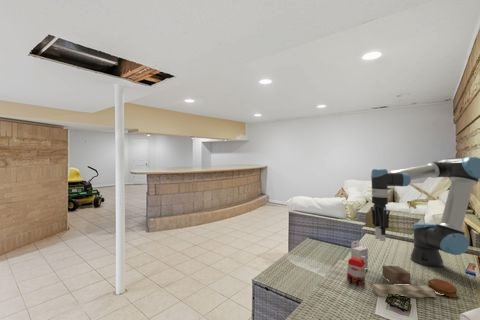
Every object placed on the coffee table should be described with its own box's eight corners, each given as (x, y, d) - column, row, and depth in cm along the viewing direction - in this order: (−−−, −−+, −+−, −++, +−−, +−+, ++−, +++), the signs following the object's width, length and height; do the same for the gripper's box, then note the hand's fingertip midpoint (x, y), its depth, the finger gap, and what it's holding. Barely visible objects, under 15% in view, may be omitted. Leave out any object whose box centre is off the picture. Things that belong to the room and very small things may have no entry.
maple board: (427, 292, 98) (427, 285, 99) (435, 297, 94) (435, 290, 95) (373, 291, 99) (373, 284, 99) (378, 296, 95) (378, 288, 95)
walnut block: (398, 278, 112) (398, 266, 113) (410, 286, 104) (410, 273, 105) (382, 277, 113) (382, 265, 113) (393, 285, 105) (392, 272, 105)
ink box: (360, 272, 117) (359, 244, 118) (350, 269, 121) (350, 241, 122) (368, 269, 122) (367, 242, 123) (359, 266, 126) (358, 239, 127)
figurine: (344, 281, 107) (344, 256, 108) (349, 276, 112) (349, 252, 113) (364, 287, 101) (363, 261, 102) (368, 282, 107) (368, 257, 107)
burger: (463, 299, 94) (462, 287, 94) (440, 298, 94) (440, 286, 95) (442, 287, 104) (442, 276, 104) (422, 286, 104) (422, 276, 105)
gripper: (364, 195, 131) (365, 235, 129) (381, 198, 115) (382, 244, 113) (377, 195, 131) (378, 235, 129) (396, 198, 115) (397, 244, 113)
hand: (380, 239), depth 121 cm, fingers open, 3 cm apart
